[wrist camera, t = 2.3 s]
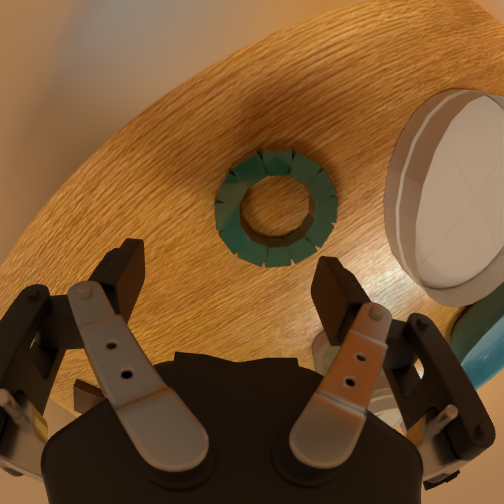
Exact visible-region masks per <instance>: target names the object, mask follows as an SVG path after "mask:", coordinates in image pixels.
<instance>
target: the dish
mask: <svg viewBox="0 0 504 504" xmlns="http://www.w3.org/2000/svg"><path fill="white" fill-rule="evenodd" d="M384 215H385V230H386V234H387V237H388V240H389V243H390V247H391V250H392V253H393V255H394V256H395V258H396V259H397V261H398V262H399V264H400V265H401V267H402V268H403V270H404V271H405V272H406V273H407V274H408V275H409V277H410V278H411V279H412V280H413V281H414V282H416V283H417V284H418V285H420V286H421V287H422V288H423V289H424V290H425V292H426V293H427V294H428V295H429V297H431V298H432V299H434V300H435V301H437V302H438V303H440V304H441V305H444V306H451V307H460V306H465V305H469V304H473V303H475V302H477V301H478V300H480V299H482V298H484V297H486V296H487V295H489V294H490V293H491V292H492V291H493V290H495V289H496V288H497V287H498V286H499V285H500V284H502V283H503V282H504V96H501V95H492V94H488V93H486V92H484V91H478V90H461V89H449V90H447V91H444V92H442V93H439V94H437V95H434V96H432V97H430V98H429V99H428V100H427V101H426V102H425V103H424V104H423V105H422V106H421V107H420V108H419V109H417V110H416V111H415V112H414V113H413V115H412V116H411V118H410V120H409V121H408V123H407V125H406V126H405V128H404V130H403V131H402V133H401V135H400V136H399V138H398V141H397V144H396V147H395V150H394V153H393V156H392V159H391V162H390V165H389V167H388V173H387V180H386V188H385V194H384Z"/></svg>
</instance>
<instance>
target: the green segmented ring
mask: <svg viewBox="0 0 504 504" xmlns="http://www.w3.org/2000/svg"><path fill="white" fill-rule="evenodd" d="M278 175H289V176H291V177H293V178H294V179H296V180H298V181H300V182H302V183H303V184H304V186H305V188H306V190H307V191H308V193H309V195H310V199H309V214H308V215H307V217H306V219H305V220H304V222H303V223H302V225H301V227H300V228H298V229H297V230H295V231H293V232H292V233H290V234H288V235H287V236H285V237H277V238H265V237H262V236H260V235H258V234H256V233H253V232H251V231H250V230H249V229H248V227H247V226H246V225H245V223H244V222H243V220H242V219H241V218H240V207H239V205H240V203H241V201H242V199H243V198H244V196H245V194H246V192H247V190H248V188H249V187H250V186H252V185H253V184H255V183H257V182H258V181H260V180H261V179H263V178H265V177H266V176H278ZM336 193H337V191H336V189H335V187H334V185H333V183H332V181H331V180H330V178H329V176H328V174H327V172H326V170H325V169H323V168H322V167H321V165H320V164H318V163H317V162H315V161H313V160H312V159H310V158H308V157H306V156H305V155H303V154H301V153H299V152H298V151H296V150H294V149H292V150H290V149H289V148H287V147H280V148H260V156H259V155H258V153H257V152H256V150H254V151H252V152H250V153H249V154H247V155H246V156H244V157H242V158H241V159H239V160H238V161H236V162H235V163H233V164H232V170H231V169H227V171H226V173H225V175H224V177H223V179H222V181H221V183H220V185H219V187H218V189H217V191H216V196H215V201H214V209H215V220H216V230H219V236H220V237H221V239H222V240H223V241H224V243H225V244H226V245H227V246H228V248H229V249H230V250H231V252H232V253H233V254H236V253H238V258H240V259H243V260H245V261H248V262H250V263H252V264H255V265H257V266H260V267H261V266H262V265H263V263H265V267H266V268H268V267H281V266H291V259H292V260H293V262H294V263H295V264H297V263H299V262H300V261H302V260H304V259H305V258H307V257H309V256H311V255H312V254H314V253H316V252H317V249H316V248H315V246H317V247H319V248H321V247H322V246H323V244H324V243H325V241H326V240H327V238H328V236H329V235H330V233H331V232H332V230H333V229H334V226H333V225H332V223H336V219H337V205H338V197H337V196H336V195H335V194H336ZM314 245H315V246H314Z"/></svg>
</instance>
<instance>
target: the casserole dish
mask: <svg viewBox="0 0 504 504" xmlns="http://www.w3.org/2000/svg"><path fill="white" fill-rule="evenodd" d="M450 348H451V350H452V351H453V353H454V354H455V356H456V358H457V359H458V361H459V363H460V364H461V366H462V368H463V369H464V371H465V373H466V374H467V376H468V378H469V380H470V381H471V383H472V385H473V387H474V388H475V390H477V389H479V388H480V387H481V386H483V385H484V384H485V383H487V382H488V381H489V380H490V379H492V378H493V377H494V376H495V375H496V374H498V373H499V372H500V371H501V370H502V369H503V368H504V282H503V283H502V284H500V285H499V286H498V287H497V288H496V289H495V290H493V291H492V292H491V293H490V294H489V295H487V296H486V297H484V298H482V299H480V300H478V301H477V302H475V303H474V304H473V305H472V306H471V307H470V308H469V309H468V310H467V311H466V312H465V313H464V314H463V315H462V317H461V318H460V319H459V320H458V322H457V323H456V325H455V327H454V330H453V333H452V336H451V340H450Z"/></svg>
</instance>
